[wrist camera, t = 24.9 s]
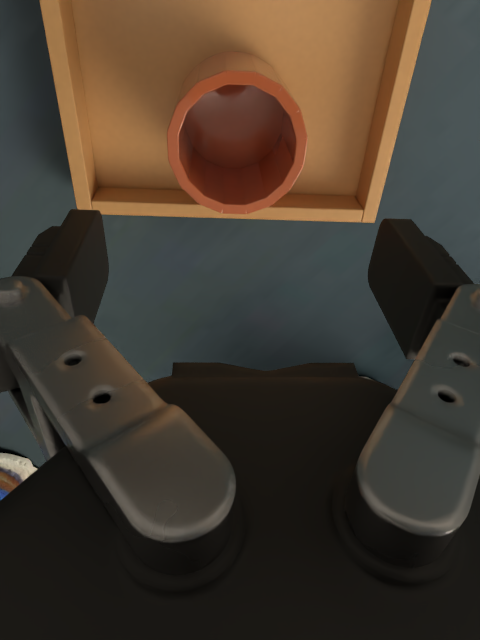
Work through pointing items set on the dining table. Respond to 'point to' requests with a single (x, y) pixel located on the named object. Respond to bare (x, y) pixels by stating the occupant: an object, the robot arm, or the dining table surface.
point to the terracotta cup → (236, 134)
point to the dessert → (13, 472)
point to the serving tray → (220, 36)
